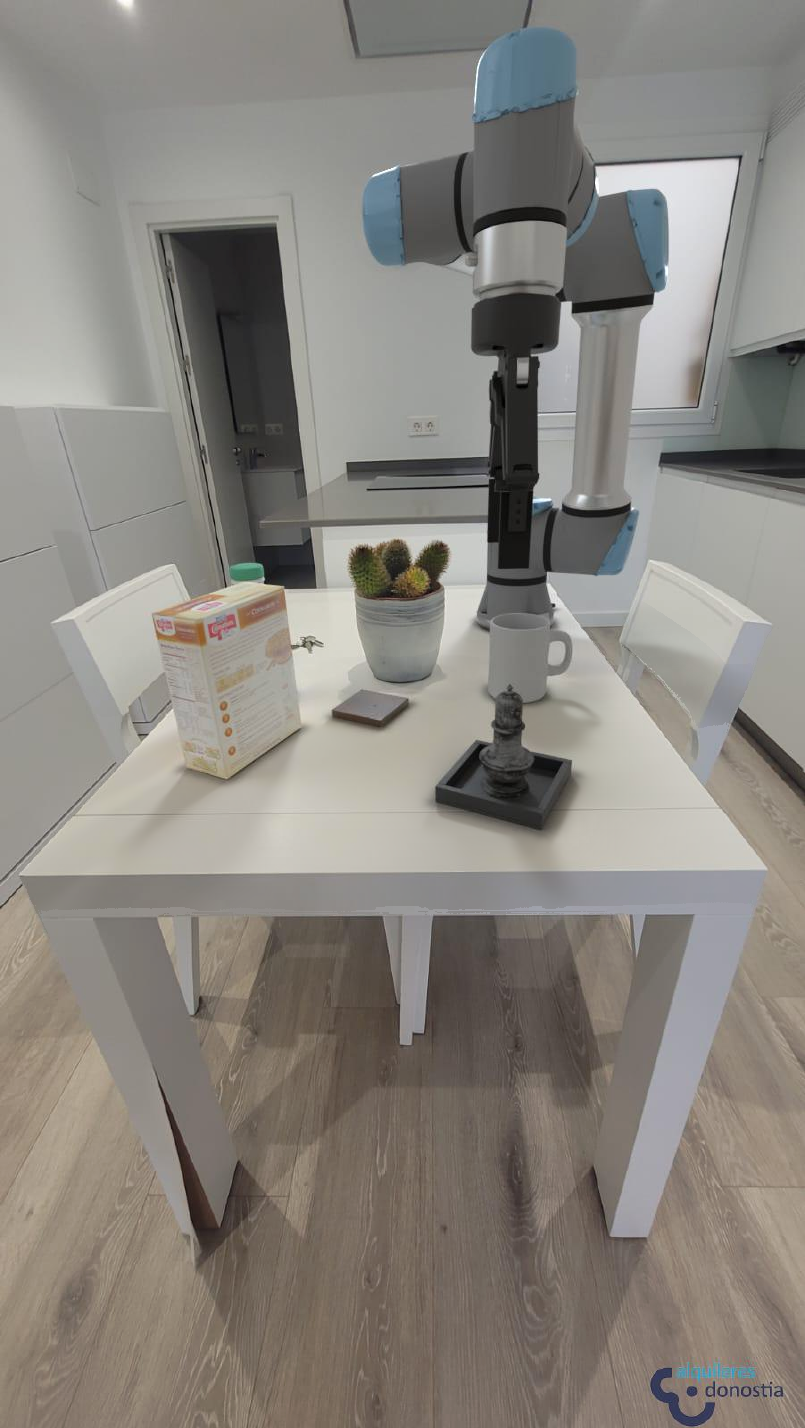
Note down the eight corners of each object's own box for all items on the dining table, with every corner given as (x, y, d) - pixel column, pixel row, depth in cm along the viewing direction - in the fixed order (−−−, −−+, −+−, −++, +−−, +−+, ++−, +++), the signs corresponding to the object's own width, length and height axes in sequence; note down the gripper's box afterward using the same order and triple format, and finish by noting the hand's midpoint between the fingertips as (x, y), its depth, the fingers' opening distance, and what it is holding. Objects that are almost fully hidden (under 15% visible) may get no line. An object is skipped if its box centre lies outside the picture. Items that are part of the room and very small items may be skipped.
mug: (491, 704, 85) (493, 631, 81) (484, 681, 93) (486, 613, 88) (575, 702, 85) (582, 628, 80) (561, 679, 93) (568, 611, 88)
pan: (475, 753, 73) (476, 739, 72) (570, 774, 68) (572, 759, 67) (435, 801, 64) (435, 786, 63) (541, 830, 59) (542, 814, 58)
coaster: (362, 695, 90) (361, 689, 89) (408, 704, 86) (408, 698, 86) (332, 716, 84) (331, 710, 83) (381, 727, 80) (380, 720, 80)
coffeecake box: (263, 718, 84) (242, 580, 75) (304, 727, 81) (287, 585, 72) (183, 768, 72) (147, 611, 64) (227, 781, 69) (196, 618, 60)
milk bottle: (263, 684, 95) (245, 558, 86) (301, 693, 91) (285, 562, 83) (228, 702, 89) (204, 568, 80) (266, 713, 85) (246, 573, 77)
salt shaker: (491, 803, 62) (495, 699, 57) (470, 775, 67) (472, 678, 62) (542, 793, 64) (550, 690, 59) (517, 766, 69) (523, 670, 64)
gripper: (466, 324, 62) (463, 534, 71) (480, 264, 39) (474, 583, 49) (539, 320, 61) (527, 532, 70) (596, 258, 39) (567, 581, 48)
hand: (505, 554), depth 60 cm, fingers open, 13 cm apart
